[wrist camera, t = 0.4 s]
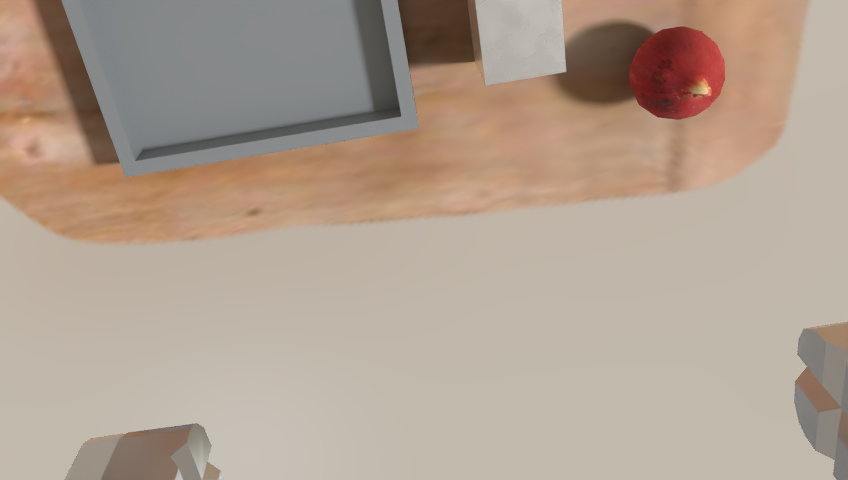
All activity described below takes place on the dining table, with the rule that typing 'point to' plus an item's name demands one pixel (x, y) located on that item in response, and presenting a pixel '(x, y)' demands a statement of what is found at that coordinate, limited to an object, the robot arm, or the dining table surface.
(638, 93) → the onion
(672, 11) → the dining table surface
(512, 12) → the block
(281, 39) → the tray
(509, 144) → the dining table surface
